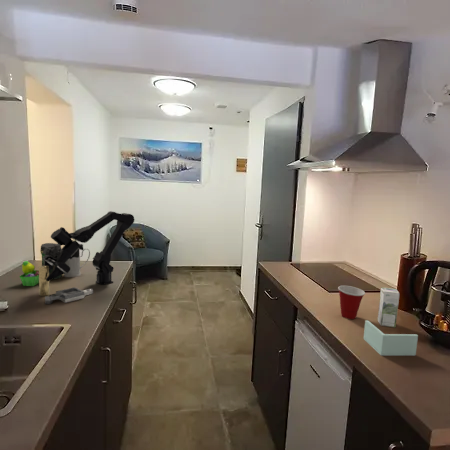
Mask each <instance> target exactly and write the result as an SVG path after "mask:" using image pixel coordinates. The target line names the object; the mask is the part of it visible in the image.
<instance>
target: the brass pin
mask: <svg viewBox="0 0 450 450" xmlns="http://www.w3.org/2000/svg"><path fill="white" fill-rule="evenodd" d="M38 270H39V283H38V285H39V286H38V289H39V296H40V297H45V296H47V295H50V281H46V279H47V277H48V276H49V266H42V265H40V266H38Z"/></svg>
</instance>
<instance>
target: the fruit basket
mask: <svg viewBox="0 0 450 450" xmlns="http://www.w3.org/2000/svg"><path fill="white" fill-rule="evenodd" d="M35 268H36V267H35V265H34V264H32V263H31V262H30V261H28V260H26V261H25V260H24V261H23V262H22V265H21V271H22V272H23V274H21V275H19V278H20V280H21V284H22V286H23V287H24V286H25V287H35V286H37V285H39V276H38V275H39V269H38V270H35Z"/></svg>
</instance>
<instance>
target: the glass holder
mask: <svg viewBox="0 0 450 450" xmlns="http://www.w3.org/2000/svg"><path fill="white" fill-rule="evenodd" d="M85 250H87V251H88V257H87V259H86V260H85V262H84V263H83V264H81V257H83V253H84V251H85ZM90 255H91V251H90V249H88V248H83V250H81V254H80V249H78V250H77V251H76V252H75V253H74V254H73V255H72V256H71V257H72V259H69V260H68V261H67V262H66V264H67V265H68V266H69V267H70V271H69V272H68V273H66V272H65V274H63V276H64V277H65V278H75V277H79V276H81V275H82V273H81V269H82V268H83V267H84V266H85V265H86V264H87V263H88V261H89V259H90Z"/></svg>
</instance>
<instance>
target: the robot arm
mask: <svg viewBox="0 0 450 450" xmlns="http://www.w3.org/2000/svg"><path fill="white" fill-rule="evenodd" d="M135 220H136V219H135V217H134V215H133V214H131V213H127V212H123V213H122V212H121V213H119V212H116V211H112V210H111V211H108V212H107V213H106V214H105V215H103V216H102V217H99V218H98V219H96V220H95V221H94V222H92V223H91V224H89V225H87V226H83V227H81V228H79V229H77V230H75V231H74V232H70V233H69V231H67V230H66V228H64V227H62V226H61V227H60V228H58V229H56V230H54V231H53V232H51V235H50V238H51V239H52V240H53V241H54V242H55V243H56V244H59V245H61V246H63V247H61V249H55V248H52V249H50V248H47V247H45V249H44V251H43V254H45V256H44V257H43V259H44V260H43V263H44V265H43V266H49V271H50V270H52V269H53V270H52V272H51V273H50V274H49V276H48V277H47V279H46V281H49V282H50V281H52V280H55V279H54V278H56V277H58V276H60V275H62V276H64V274H65V272H66V273H68V272H69V271H70V267H69V266H68V265H67V264H66V262H67V261H68V260H69V259H72V257H71V256H72V255H73V254H74V253H75V252H76V251H77V250H78V249H79V251H83V250H84V244H85V243H87V242H89V241H90V240H91V239H92V238H93V237H94V235H95V234H96V233H97V232H98V231H100V230H101V229H103V228H105V226H107V225H109V224H110V223H112V222H113V221H116V227H115V228H114V231H113V232H112V234H111V236H110V237H109V238H108V241H107V242H106V244H105V246H104V247H103V249H102V251H100V252H99V251H97V252H95V255H94V256H93V258H92V259H93V260H92V266H93V267H94V268H95V270H96V273H97V274H96V280H95V283H97V284H99V285H101V286H103V285H107V284H111V283H114V281H113V280H112V272H113V271H114V267H113V266H112V265H111V261H112V260H111V259H112V255H113V253H114V251H115V249H116V247H117V246H118V244H119V242H120V240H121V238H122V236H123V235H124V234H125V232H126V231H127V230H128V229H129V228H131V227H132V225H133V224H134V223H135ZM72 239H73V240H72ZM83 243H84V244H83ZM38 276H39V275H38Z"/></svg>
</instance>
